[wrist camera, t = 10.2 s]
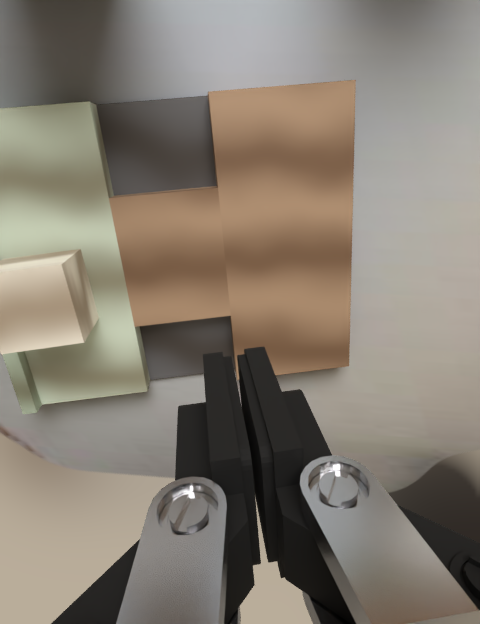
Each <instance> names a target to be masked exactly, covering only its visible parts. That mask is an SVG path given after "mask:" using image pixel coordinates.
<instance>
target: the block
mask: <svg viewBox="0 0 480 624" xmlns="http://www.w3.org/2000/svg"><path fill="white" fill-rule="evenodd" d="M98 319H99V316H98V312H97V308H96V305H95V301H94V297H93V293H92V290H91V286H90V282H89V278H88V275H87V271H86V267H85V263H84V260H83V256H82V252H81V249H76V250H68V251H60V252H53V253H45V254H37V255H29V256H22V257H14V258H6V259H2V260H1V261H0V352H1V354H8V353H15V352H22V351H29V350H36V349H43V348H50V347H57V346H64V345H71V344H78V343H84V342H85V340H86V339H87V337H88V335H89V334H90V332H91V330H92V329H93V327H94V325H95V324H96V322H97V320H98Z"/></svg>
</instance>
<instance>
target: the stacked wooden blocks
mask: <svg viewBox="0 0 480 624" xmlns="http://www.w3.org/2000/svg"><path fill="white" fill-rule="evenodd" d="M355 82H356V80H349V81H337V82H324V83H312V84H299V85H287V86H274V87H262V88H249V89H237V90H225V91H212V92H208V96H198V97H186V98H174V99H161V100H149V101H137V102H124V103H112V104H100V105H96V104H93V103H91V102H89V101H88V102H75V103H63V104H50V105H38V106H26V107H13V108H1V109H0V261H1V260H2V259H6V258H14V257H22V256H29V255H37V254H45V253H53V252H60V251H68V250H76V249H81V252H82V256H83V260H84V263H85V267H86V271H87V275H88V278H89V282H90V286H91V290H92V293H93V297H94V301H95V305H96V308H97V312H98V316H99V319H98V320H97V322H96V324H95V325H94V327H93V329H92V330H91V332H90V334H89V335H88V337H87V339H86V340H85V342H84V343H78V344H71V345H64V346H57V347H50V348H43V349H36V350H29V351H22V352H15V353H8V354H2V355H3V358H4V361H5V364H6V367H7V370H8V372H9V375H10V378H11V381H12V384H13V387H14V390H15V392H16V395H17V398H18V401H19V404H20V407H21V410H22V413H23V414H30V413H37V412H38V410H39V409H40V407H41V405H43V404H51V403H59V402H67V401H75V400H83V399H91V398H99V397H107V396H115V395H123V394H131V393H139V392H147V391H148V387H149V382H150V380H153V379H161V378H169V377H177V376H185V375H193V374H201V373H204V366H203V354H208V353H216V352H223V357H226V356H231V358H232V363H233V368H234V369H235V370H236V376H237V380H239V372H238V361H237V355H242V354H244V349H247V348H255V347H263V346H264V347H265V349H266V352H267V355H268V357H269V360H270V363H271V365H272V368H273V370H274V373H275V375H282V374H290V373H298V372H306V371H314V370H322V369H330V368H338V367H345V366H349V344H350V300H351V257H352V213H353V169H354V126H355Z"/></svg>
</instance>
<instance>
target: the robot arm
mask: <svg viewBox="0 0 480 624" xmlns="http://www.w3.org/2000/svg"><path fill="white" fill-rule="evenodd" d="M237 361H238V372H239V383H240V393H241V402H240V397H239V392H238V387H237V382H236V378H235V373H234V368H233V363H232V358H231V356H226V357H223V352H216V353H208V354H203V366H204V381H205V395H206V402H204V403H197V404H190V405H182V406H179V407H178V424H177V449H176V474H175V481H174V482H171V483H170V484H168V485H167V486H165V487H164V488H163V489H161V491H159V492H158V494H157V495H156V496H155V497H154V498H153V500H152V503H151V505H150V507H149V510H148V513H147V517H146V520H145V524H144V527H143V531H142V534H141V538H140V539H139V540H138V541H137V542H136V543H135V544H134V545H133V546H132V547H131V548H130V549H129V550H128V551H127V552H126V553H125V554H124V555H123V556H122V557H121V558H120V559H119V560H117V561H116V562H115V563H114V564H113V565H112V566H111V567H110V568H109V569H108V570H107V571H106V572H105V573H104V574H103V575H102V576H101V577H100V578H99V579H98V580H97V581H95V582H94V583H93V584H92V585H91V587H89V588H88V589H87V590H86V591H85V592H84V593H83V594H82V595H81V596H80V597H79V598H78V599H77V600H76V601H74V602H73V603H72V605H70V606H69V607H68V608H67V609H66V610H65V611H64V612H63V613H62V614H61V615H60V616H59V617H58V618H57V619H56V620H55V621H54V622H53V623H52V624H240V621H241V620H240V619H241V616H240V607H239V606H240V604H241V603H242V602H243V600H244V599H245V598H246V596H247V595H248V593H249V592H250V590H251V589H252V588H253V586H254V575H253V565H257V564H260V563H261V560H260V549H259V538H258V526H257V514H256V502H257V507H258V512H259V517H260V522H261V528H262V533H263V538H264V543H265V548H266V554H267V559H268V562H274V561H277V562H278V567H279V571H280V576H281V578H283V577H285V578H286V580H287V581H289V582H291V583H292V584H293V585H295V586H296V587H298V588H299V589H301V590H302V591H303V597H304V601H305V604H306V607H307V610H308V612H309V615H310V617H311V619H312V622H313V624H480V543H478V542H476V541H474V540H471V539H469V538H467V537H465V536H463V535H461V534H459V533H456V532H454V531H452V530H450V529H448V528H446V527H444V526H441V525H439V524H437V523H435V522H433V521H431V520H429V519H426V518H424V517H422V516H420V515H418V514H416V513H414V512H411V511H409V510H407V509H405V508H403V507H401V506H398V505H396V503H395V502H394V501H393V499H392V498H391V497H390V495H389V494H388V493H387V492H386V490H385V489H384V488H383V486H382V485H381V484H380V483H379V481H378V480H377V479H376V477H375V476H374V475H373V474H372V473H371V472H370V471H369V470H368V469H367V468H366V467H365V466H364V465H362V464H361V463H359V462H357V461H355V460H353V459H350V458H346V457H343V456H332V454H331V452H330V450H329V448H328V446H327V443H326V441H325V439H324V437H323V435H322V433H321V431H320V428H319V426H318V424H317V422H316V420H315V418H314V416H313V413H312V411H311V409H310V407H309V405H308V403H307V400H306V398H305V396H304V394H303V392H302V391H301V390H300V389H299V390H292V391H285V392H282V391H281V389H280V386H279V384H278V381H277V378H276V376H275V373H274V370H273V368H272V365H271V363H270V360H269V357H268V355H267V352H266V349H265V347H264V346H263V347H255V348H247V349H244V354H242V355H237ZM241 404H242V407H241ZM255 496H256V502H255Z"/></svg>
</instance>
